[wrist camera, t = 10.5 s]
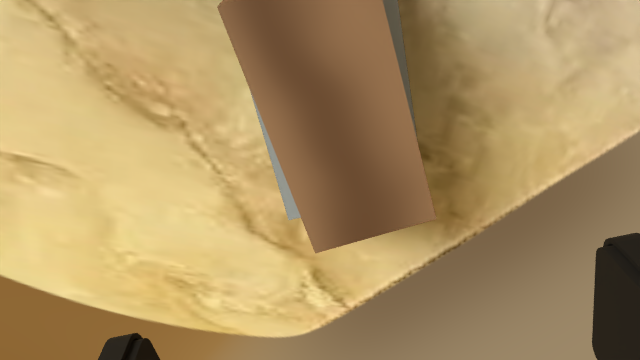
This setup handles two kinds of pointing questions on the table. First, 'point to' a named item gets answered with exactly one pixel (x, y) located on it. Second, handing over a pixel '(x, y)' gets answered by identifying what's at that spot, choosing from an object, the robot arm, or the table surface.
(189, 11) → the table surface
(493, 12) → the table surface
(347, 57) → the walnut brick
